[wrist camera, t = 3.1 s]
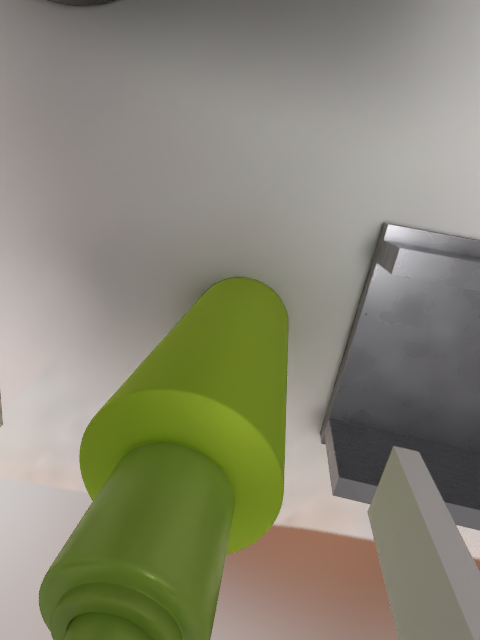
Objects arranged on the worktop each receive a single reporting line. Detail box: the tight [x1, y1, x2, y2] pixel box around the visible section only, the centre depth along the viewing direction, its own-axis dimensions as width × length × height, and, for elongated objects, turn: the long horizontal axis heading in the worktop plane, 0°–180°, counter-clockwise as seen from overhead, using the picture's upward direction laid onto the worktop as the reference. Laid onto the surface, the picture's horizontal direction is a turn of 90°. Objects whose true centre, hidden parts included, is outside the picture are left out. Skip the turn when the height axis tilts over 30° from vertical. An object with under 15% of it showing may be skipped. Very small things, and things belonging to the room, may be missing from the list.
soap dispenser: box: [39, 277, 288, 640], centre depth 13 cm, size 6×7×20 cm
